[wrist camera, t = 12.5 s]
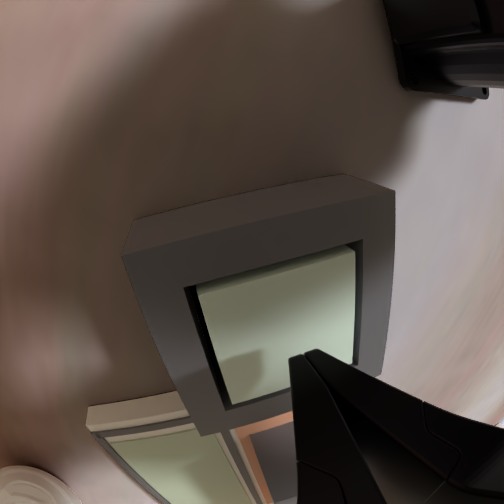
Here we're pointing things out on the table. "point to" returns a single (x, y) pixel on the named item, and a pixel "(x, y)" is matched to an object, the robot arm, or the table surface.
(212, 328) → the button
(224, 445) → the picture board
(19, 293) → the table surface
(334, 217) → the button housing
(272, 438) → the orange-tipped gray block
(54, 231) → the table surface
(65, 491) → the white steamed bun
